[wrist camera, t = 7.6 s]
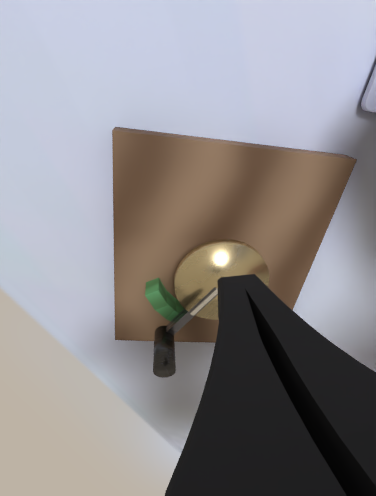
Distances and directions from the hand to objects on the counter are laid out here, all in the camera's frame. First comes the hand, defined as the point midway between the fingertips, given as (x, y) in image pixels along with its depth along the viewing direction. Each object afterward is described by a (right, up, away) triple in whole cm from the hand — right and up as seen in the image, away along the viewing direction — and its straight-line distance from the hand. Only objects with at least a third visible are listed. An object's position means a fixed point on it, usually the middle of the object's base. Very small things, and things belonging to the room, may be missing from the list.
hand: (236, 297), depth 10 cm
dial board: (0, +1, +10) cm, 10 cm away
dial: (-1, -1, +8) cm, 9 cm away
